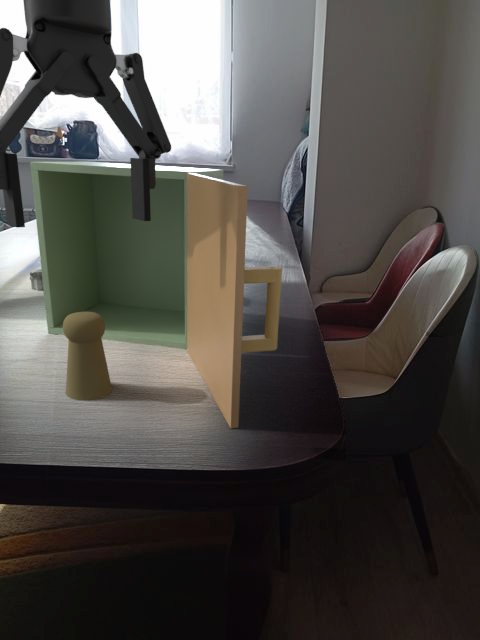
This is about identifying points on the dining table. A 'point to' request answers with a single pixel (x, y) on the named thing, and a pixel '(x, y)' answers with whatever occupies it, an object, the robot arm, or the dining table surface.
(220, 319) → the cabinet door
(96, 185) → the cabinet
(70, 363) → the olive brown pawn
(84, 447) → the dining table surface
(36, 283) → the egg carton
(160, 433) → the dining table surface
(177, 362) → the dining table surface
